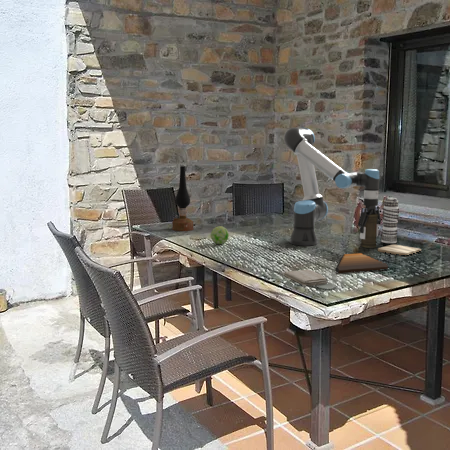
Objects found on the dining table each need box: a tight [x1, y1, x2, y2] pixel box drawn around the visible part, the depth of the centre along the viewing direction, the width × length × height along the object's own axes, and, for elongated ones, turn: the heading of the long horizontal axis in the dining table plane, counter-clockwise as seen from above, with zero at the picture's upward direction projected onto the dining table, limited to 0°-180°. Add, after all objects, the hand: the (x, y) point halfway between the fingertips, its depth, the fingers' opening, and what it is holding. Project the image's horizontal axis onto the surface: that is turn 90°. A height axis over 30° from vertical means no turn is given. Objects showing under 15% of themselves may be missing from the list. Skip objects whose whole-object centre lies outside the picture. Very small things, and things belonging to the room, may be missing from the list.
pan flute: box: [334, 252, 389, 274], centre depth 269 cm, size 25×3×25 cm
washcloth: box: [284, 268, 328, 287], centre depth 244 cm, size 12×18×3 cm, turn 25°
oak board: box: [377, 243, 422, 256], centre depth 300 cm, size 16×16×2 cm
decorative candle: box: [380, 197, 400, 244], centre depth 323 cm, size 9×9×25 cm
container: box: [359, 214, 378, 249], centre depth 311 cm, size 9×9×18 cm
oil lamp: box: [171, 165, 194, 232], centre depth 355 cm, size 14×15×40 cm
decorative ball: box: [210, 225, 230, 245], centre depth 313 cm, size 10×10×10 cm
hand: (368, 237), depth 311 cm, fingers open, 12 cm apart
